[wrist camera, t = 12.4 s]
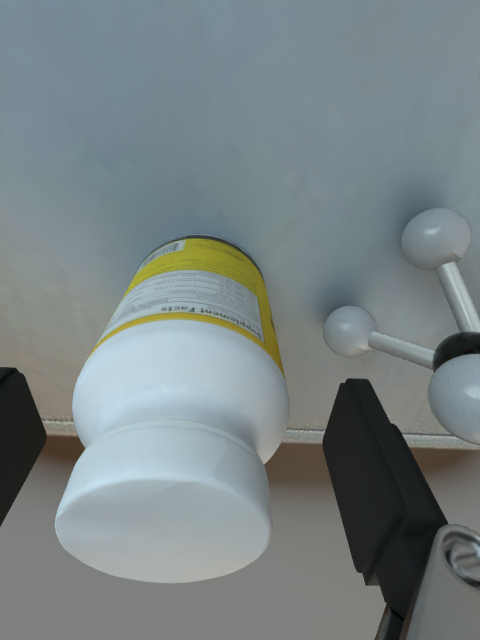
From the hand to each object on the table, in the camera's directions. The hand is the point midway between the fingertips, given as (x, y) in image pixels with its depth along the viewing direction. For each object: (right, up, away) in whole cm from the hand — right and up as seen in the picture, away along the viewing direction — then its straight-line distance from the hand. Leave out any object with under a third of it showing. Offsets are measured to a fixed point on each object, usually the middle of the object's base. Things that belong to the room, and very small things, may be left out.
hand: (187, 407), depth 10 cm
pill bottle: (0, +4, +7) cm, 8 cm away
